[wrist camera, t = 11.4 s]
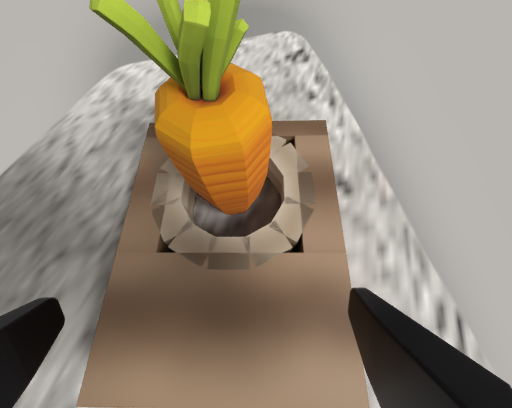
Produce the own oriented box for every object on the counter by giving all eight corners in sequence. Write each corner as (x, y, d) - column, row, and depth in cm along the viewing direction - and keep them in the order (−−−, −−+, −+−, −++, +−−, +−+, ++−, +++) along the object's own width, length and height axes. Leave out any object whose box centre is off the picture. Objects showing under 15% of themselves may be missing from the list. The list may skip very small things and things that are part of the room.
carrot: (198, 231, 18) (7, -1, 5) (217, 176, 20) (120, -101, 7) (261, 245, 18) (253, 25, 4) (274, 187, 20) (298, -93, 6)
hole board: (349, 394, 14) (370, 412, 11) (111, 389, 14) (76, 406, 12) (317, 145, 22) (325, 120, 19) (163, 146, 22) (149, 123, 19)
